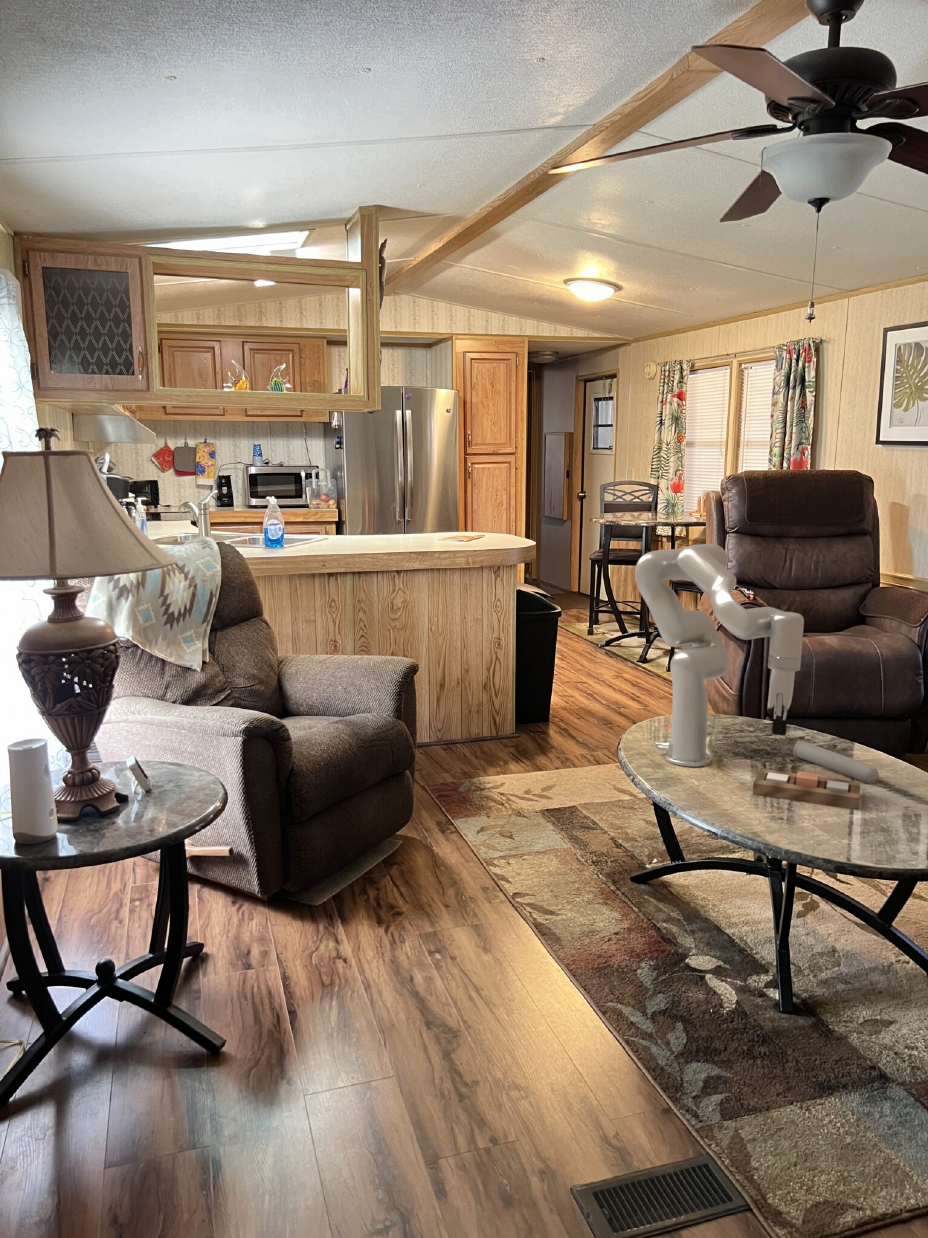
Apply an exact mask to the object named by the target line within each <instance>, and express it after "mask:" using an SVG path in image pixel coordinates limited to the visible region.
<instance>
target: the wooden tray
mask: <svg viewBox="0 0 928 1238" xmlns="http://www.w3.org/2000/svg"><path fill="white" fill-rule="evenodd" d="M769 772H770V773H777V774H785V775H789V776H788V784H786V783H779V782H772V781H766V778H767V775H768V773H769ZM797 773H798V772H791V771H789V772H788V771H783V770H781V771H780V770H774V769H766V768H759V770H758V772H757V774H756V776H755V779H754V780H753V783H752V785H753V786H752V795H754V796H761V797H767V798H768V797H769V798H774V799H782V800H788V801H794V802H795V801H796V802H801V803H809V804H815V805H821V806H829V807H834V808H835V807H836V808H842V809H850V810H857V811H858V810H859V806H860V805H859V804H860V803H859V802H860V795H861V794H860V793H861V783H862V781H857V780H847V779H839V778H833V777H827V776H826V777H825V776H818V787H817V788H814V787H807V786H800V785H796V777H797ZM828 780H829V781H837V782H844V783H849V786H848V792H843V791H836V790H829V789H826V786H827V782H828Z"/></svg>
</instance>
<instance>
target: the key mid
mask: <svg viewBox="0 0 928 1238" xmlns="http://www.w3.org/2000/svg"><path fill="white" fill-rule="evenodd" d="M796 773H797V777H796V785H800V786H807V787H814V788H817V787H818V776H819V775H820V774H819V773H814V772H805V771H799V770H798V771H797V772H796ZM819 777H820V776H819Z"/></svg>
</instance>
